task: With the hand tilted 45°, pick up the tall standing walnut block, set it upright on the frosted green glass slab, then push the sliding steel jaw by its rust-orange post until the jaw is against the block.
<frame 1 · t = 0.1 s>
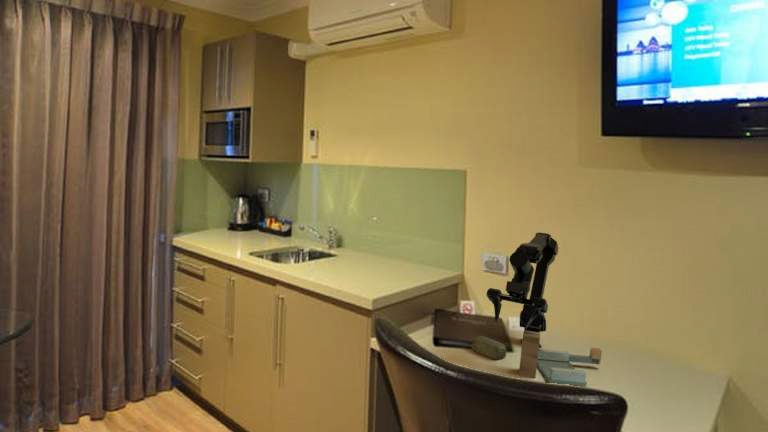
hand: (510, 325, 155), 15 cm above the table, tool tilted 35°, fingers open, 9 cm apart
stone block: (488, 355, 170), on the table
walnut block: (527, 373, 155), on the table
sliding jaw: (568, 353, 164), point 4 cm above the table, slide at 0.0 cm
frosted green glass slab: (561, 378, 154), on the table
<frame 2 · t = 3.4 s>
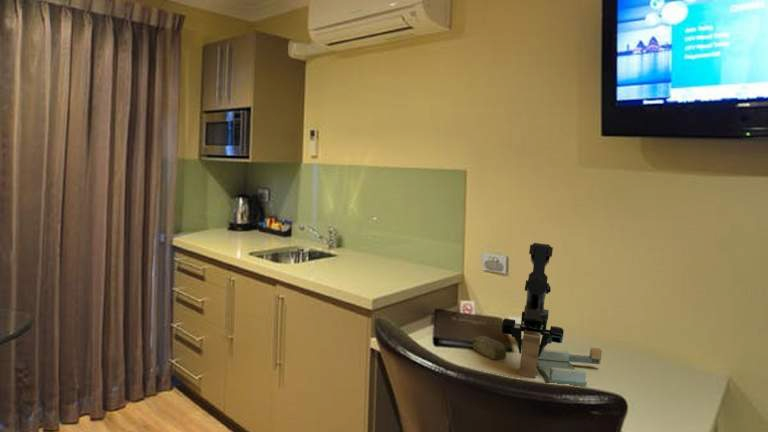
hand: (529, 354, 153), 7 cm above the table, tool tilted 45°, fingers closed on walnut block, 5 cm apart
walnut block: (527, 373, 155), on the table, touching gripper
everything else where it was.
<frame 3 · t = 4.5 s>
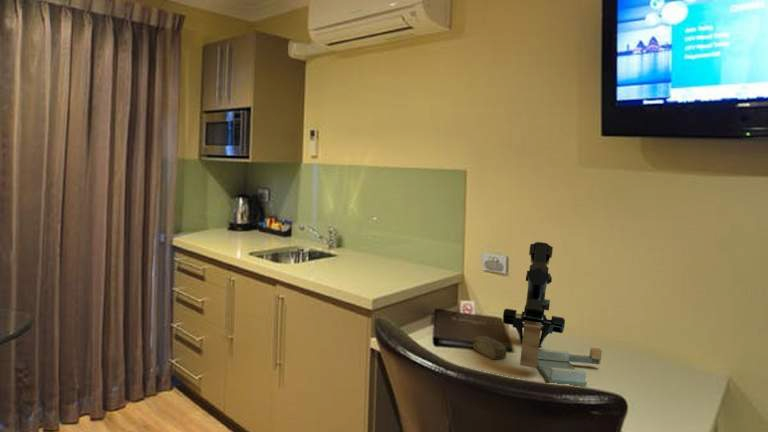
hand: (530, 344, 153), 10 cm above the table, tool tilted 45°, fingers closed on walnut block, 5 cm apart
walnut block: (528, 363, 155), point 3 cm above the table, touching gripper
everything else where it was.
when the fingers open (9 cm above the table, at t = 7.1 s): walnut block drops 1 cm, resting on frosted green glass slab.
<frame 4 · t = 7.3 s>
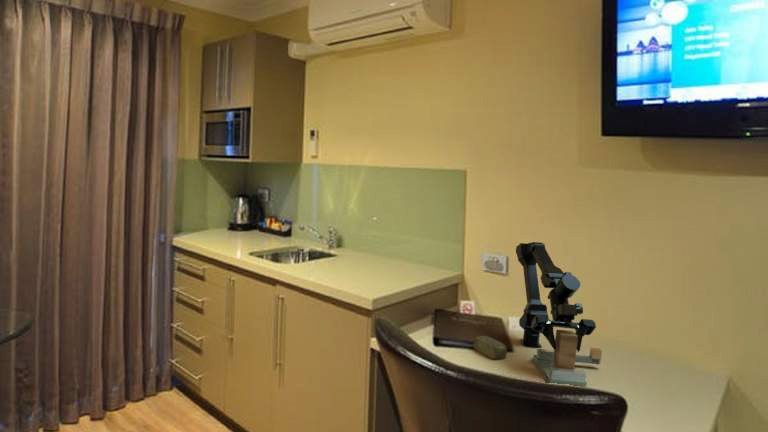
hand: (566, 350, 152), 10 cm above the table, tool tilted 45°, fingers open, 7 cm apart
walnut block: (562, 373, 154), point 2 cm above the table, touching frosted green glass slab
everything else where it was.
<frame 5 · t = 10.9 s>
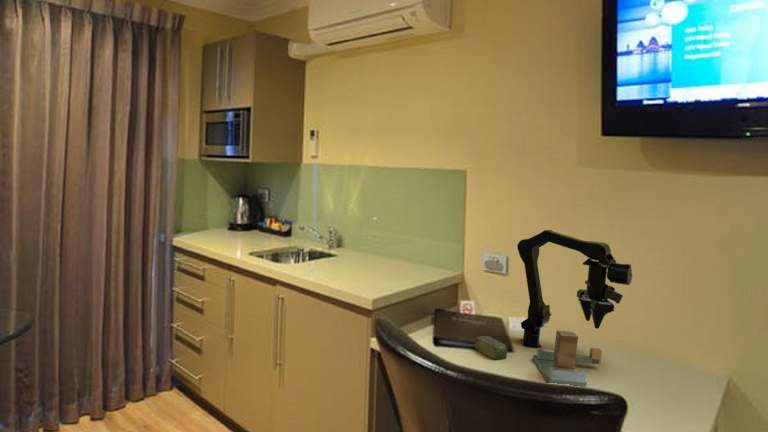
hand: (592, 324, 168), 13 cm above the table, tool pointing down, fingers open, 8 cm apart
nothing on the table moved.
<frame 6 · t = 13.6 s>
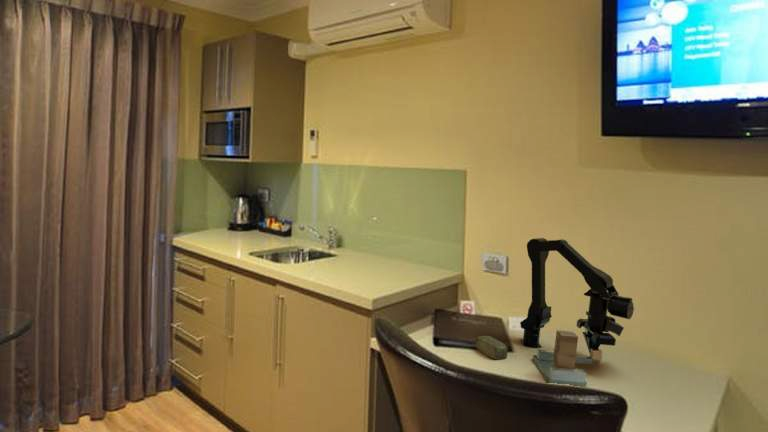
hand: (592, 356, 167), 3 cm above the table, tool pointing down, fingers closed
sliding jaw: (569, 354, 164), point 4 cm above the table, slide at 0.5 cm, touching gripper
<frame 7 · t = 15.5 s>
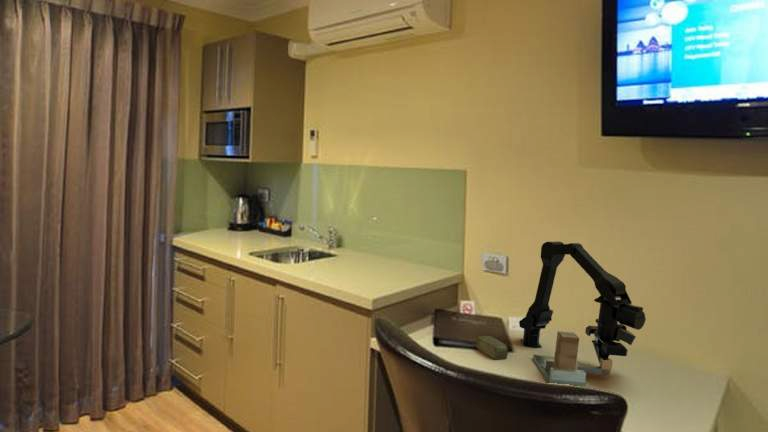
hand: (601, 365, 159), 3 cm above the table, tool pointing down, fingers closed
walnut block: (563, 374, 153), point 2 cm above the table, touching sliding jaw, frosted green glass slab
sliding jaw: (577, 363, 156), point 4 cm above the table, slide at 8.5 cm, touching gripper, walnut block
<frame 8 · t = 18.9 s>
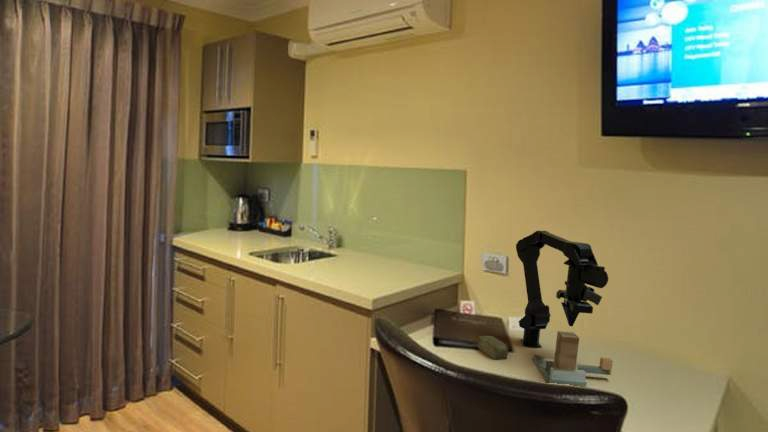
hand: (570, 326, 165), 13 cm above the table, tool pointing down, fingers closed
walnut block: (563, 374, 153), point 1 cm above the table, touching frosted green glass slab
sliding jaw: (577, 363, 156), point 4 cm above the table, slide at 8.5 cm
at the end: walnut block 0.8 cm off-centre on the frosted green glass slab, point 1.5 cm above the frosted green glass slab's base; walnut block tilted 0°; sliding jaw slide at 8.5 cm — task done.
